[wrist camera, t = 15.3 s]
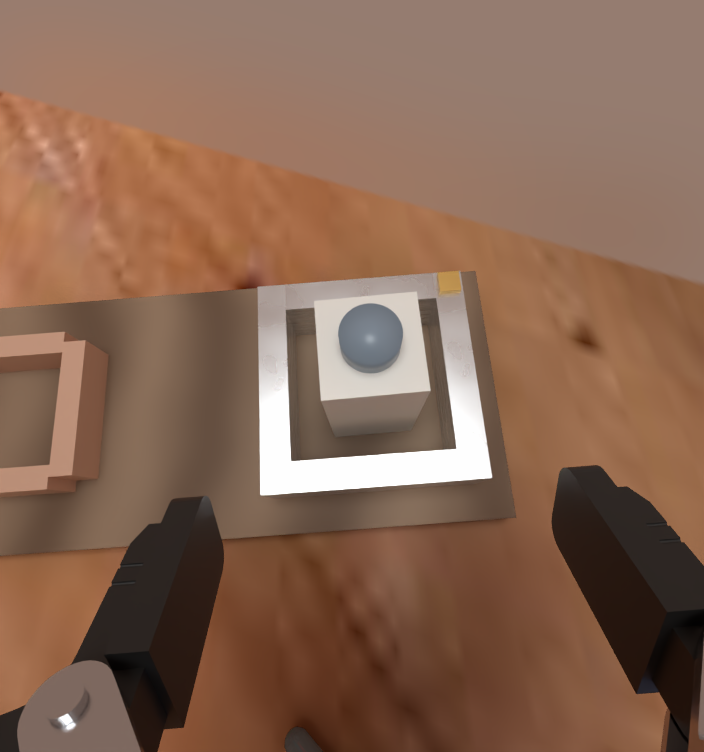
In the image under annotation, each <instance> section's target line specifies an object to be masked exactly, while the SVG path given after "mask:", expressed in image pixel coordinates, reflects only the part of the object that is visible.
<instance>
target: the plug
mask: <svg viewBox="0 0 704 752" xmlns="http://www.w3.org/2000/svg"><path fill="white" fill-rule="evenodd" d="M314 308H315V323H316V337H317V352H318V366H319V381H320V395H321V402H322V405H323V407H324V410H325V413H326V415H327V418H328V420H329V423H330V425H331V428H332V430H333V433H334V436H335V437H343V436H354V435H365V434H376V433H387V432H398V431H409V430H411V429H412V427H413V425H414V423H415V421H416V419H417V417H418V415H419V413H420V411H421V409H422V407H423V405H424V403H425V401H426V399H427V397H428V395H429V393H430V391H431V390H430V383H429V376H428V368H427V361H426V354H425V347H424V340H423V333H422V326H421V318H420V311H419V304H418V297H417V291H416V292H406V293H395V294H384V295H373V296H362V297H351V298H341V299H330V300H319V301H314Z"/></svg>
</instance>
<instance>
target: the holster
mask: <svg viewBox="0 0 704 752" xmlns="http://www.w3.org/2000/svg"><path fill="white" fill-rule="evenodd" d="M108 357H109V355H108V354H106V353H105V352H103V351H102V350H100V349H99V348H97V347H95V346H94V345H92V344H91V343H89V342H88V341H86V340H82V341H79V340H77V339H76V338H74V337H73V336H71V335H69V334H68V333H66V332H54V333H41V334H29V335H16V336H3V337H0V373H6V372H18V371H31V370H44V369H57V368H60V377H59V386H58V395H57V403H56V412H55V421H54V430H53V438H52V447H51V456H50V464H49V465H40V466H27V467H13V468H0V498H1V497H15V496H28V495H41V494H54V493H68V492H75V491H76V481H79V480H92V479H98V476H99V465H100V453H101V441H102V429H103V417H104V405H105V393H106V381H107V369H108Z"/></svg>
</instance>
